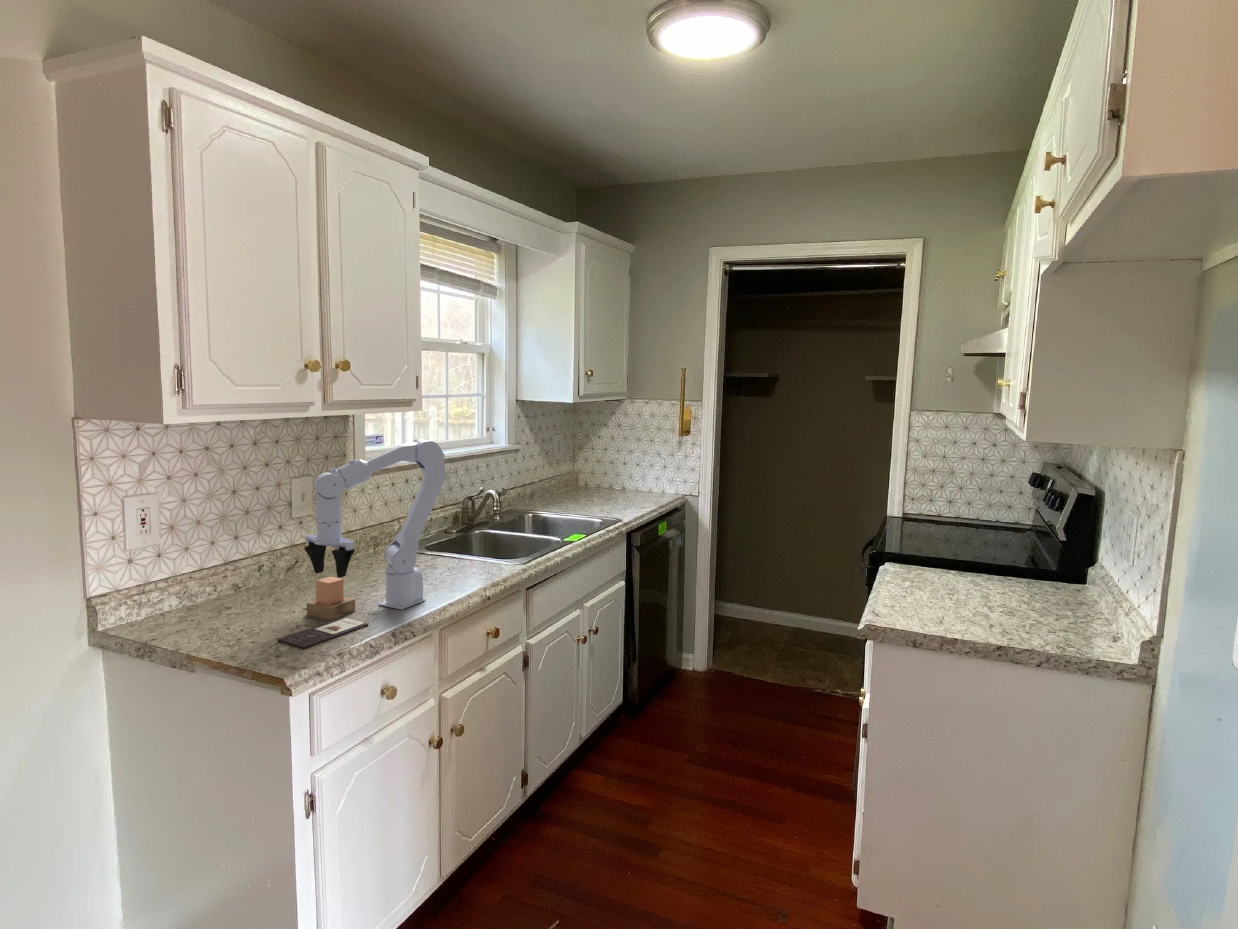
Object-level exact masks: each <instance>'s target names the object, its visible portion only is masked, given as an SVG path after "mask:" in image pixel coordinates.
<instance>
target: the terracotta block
mask: <svg viewBox="0 0 1238 929" xmlns="http://www.w3.org/2000/svg"><path fill="white" fill-rule="evenodd" d="M315 585H316V586H315V588H316V589H315V591H316V592H315V593H316V596H315V597H316V598H315V600H316V602H319V603H323V604H327V605H330V604H333V603H337V602H340V601H343V600H344V597H345V596H344V578H338V577H336V576H335V577H334V576H328V577H323V578H320V579H318V580H316V581H315Z"/></svg>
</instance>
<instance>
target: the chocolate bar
mask: <svg viewBox="0 0 1238 929" xmlns="http://www.w3.org/2000/svg"><path fill="white" fill-rule="evenodd" d="M365 626H367V627H369V623H366V622H363V621H357V620H354V619H350V618H345V617H343V616H340V617H338V618H335V619H332V620H329V621H328V622H324V623H320V624H317V625H315V626H312V627H309V628H306V629H304V630H299V631H298V632H293V633H291V634H289V635H286V636H282V637H280V638H277V639H276V642H277V641H278V643H280V642H281V643H280V644H283V643H286V644H285V645H287V644H288V645H287V646H290V645H293V646H294V648H297V647H298V648H297V649H300V648H301V649H300V650H303V651H305V650H307V649H310V648H312V646H313V647H315V646H318V645H320V643H321V644H323V642H324V643H326V642H328V640H329V641H332V640H334V639H337V638H339V637H342V635H343V636H345V635H348V634H350V633H349V632H351V633H353V632H352V631H354V632H355V631H358V630H357V629H359V630H361V629H360V628H362V627H365ZM365 628H366V627H365ZM362 629H363V628H362ZM347 633H348V634H347ZM331 639H332V640H331ZM317 644H318V645H317ZM314 645H315V646H314ZM293 646H292V647H293ZM309 647H310V648H309ZM306 648H307V649H306ZM304 649H305V650H304Z"/></svg>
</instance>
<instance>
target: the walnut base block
mask: <svg viewBox="0 0 1238 929" xmlns="http://www.w3.org/2000/svg"><path fill="white" fill-rule="evenodd" d="M354 612H356V599H355V598H351V597H347V596H344V600H343V601H340V602H337V603H333V604H330V605H327V604H323V603H319V602H316V599H313V600H311V601H308V602H306V615H307V616H311V617H314V616H316V617H315V618H320V619H324V620H329V621H333V620H335V619H338V618H341V617H343V616H346V615H348V614H351V613H354Z"/></svg>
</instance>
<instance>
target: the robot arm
mask: <svg viewBox="0 0 1238 929" xmlns="http://www.w3.org/2000/svg"><path fill="white" fill-rule="evenodd" d="M348 462H349V463H347V464H344V465H341V466H339V467H336V468H335V467H332V468H330V472H328V471H327V472H322V473H320V474H319V475H317V477H316V478H315V479H314V483H313V489H314V490H315V491H316V492H317V493H316V498H315V499H316V503H315V514H316V518H315V519H316V521H315V522H316V534H309V535H305V536H304V540H305V541H304V542H305V544H308V545H305V546H304V551H305V552H306V554H307V555H308V557H309V559H310V562H311V565H312V568H313V571H314V573H315V574H319V573H323V572H324V569H325V555H326V551H327V547H329V548H330V547H331V548H337V549H334V550H331V554H332V555H333V559H334V562H335V571H336V576H337V577H336V578H340V579H342V578H343V577H346V575H347V572H348V567H349V564H350V561H351V559H352V557H353V555H354V553H355V552H356V548H355V541H354V540H350V539H348V538H344V537H343V536H342V533H343V532H342V503H341V493H342V492H343V490H345V491H346V490H348V489H351V488H353V487H355V486H358V485H360V484H362V483H365V482H367V481H369V480H370V478H371V476H372V474H373V473H375V472H377V471H380V470H382V469H385V468H387V467H390V466H392V465H393V466H394V465H395V464H398V463H400V462H409V463H416V464H417V465H418V466H419V468H420V471H421V472H422V475H423V480H422V482H421V484H420V486H419V488H418V490H417V493H416V495H415V498H414V500H413V502H412V504H411V506H410V509H409V510H408V514H407V516H406V518H405V520H404V522H403V524H402V527H401V529H400V530H399V532H398V533H397V534H396V536H395V537H394V538H393V540H392V542H390V544H389V545H388V546H387V547H386V548H385V550H384V553H383V557H384V560H385V562H387V567H386V568H385V600H384V601H380V602H379V603H378V606H382V607H387V608H393V609H397V610H405V609H407V608H409V607H412V606H414V605H417V604H420V603H422V602H424V600H425V601H427V600H426V598H425V597H424V577H423V573H422V572H421V571H422V570H420V569H419V568H417V567H416V565H417V564H416V563H417V553H418V551H419V540H420V537H421V535H422V533H423V531H424V528H425V525H426V523H427V522H428V519H429V517H430V516H431V512H432V510H433V508H434V505H435V503H436V501H437V498H438V496H439V495H440V492H441V490H442V487H443V484H444V483H445V480H446V475H447V474H446V466H445V453H444V452H443V450H442V448H441V446H440V445H439V443H437V442H435V441H433V440H428V439H426V438H423V437H421V438H420V437H418V438H415V439H414V440H409V441H407V442H404V443H402V444H400V445H397V446H395V447H393V448H391V449H389V450H387V451H385V452H382V453H380V454H378V455H377V456H375V457H372V458H370V459H369V460H363V459H360V458H358V459H354V458H352V459H350V460H349V461H348Z"/></svg>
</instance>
